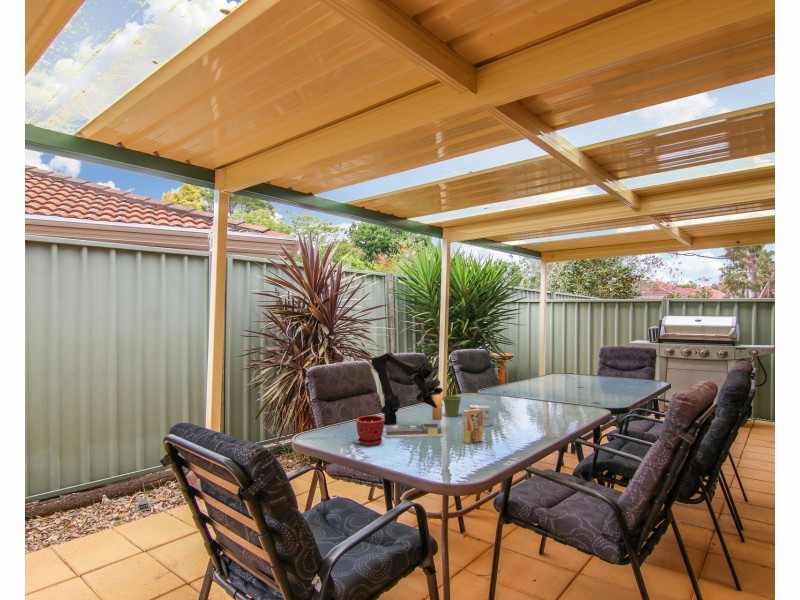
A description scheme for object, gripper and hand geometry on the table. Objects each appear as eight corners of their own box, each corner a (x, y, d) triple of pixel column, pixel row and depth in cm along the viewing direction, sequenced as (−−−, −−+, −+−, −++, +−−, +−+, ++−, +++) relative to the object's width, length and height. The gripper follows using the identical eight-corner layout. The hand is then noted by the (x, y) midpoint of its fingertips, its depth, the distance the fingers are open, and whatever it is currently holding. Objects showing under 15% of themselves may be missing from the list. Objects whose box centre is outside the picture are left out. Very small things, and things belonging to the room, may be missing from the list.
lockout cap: (433, 420, 236) (433, 394, 237) (431, 418, 241) (431, 393, 242) (442, 420, 237) (442, 394, 238) (440, 418, 242) (440, 393, 243)
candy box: (477, 439, 225) (477, 408, 225) (483, 441, 221) (482, 409, 221) (462, 441, 221) (462, 409, 221) (467, 443, 217) (467, 411, 218)
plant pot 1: (352, 441, 221) (352, 417, 221) (376, 438, 227) (376, 414, 228) (363, 448, 209) (363, 422, 210) (388, 444, 216) (388, 419, 217)
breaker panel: (387, 438, 226) (387, 429, 226) (385, 432, 238) (385, 424, 238) (442, 437, 229) (442, 428, 229) (437, 431, 241) (437, 422, 241)
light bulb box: (488, 424, 258) (488, 404, 258) (490, 426, 251) (489, 407, 252) (469, 423, 259) (469, 404, 259) (470, 426, 252) (470, 406, 253)
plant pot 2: (441, 417, 275) (441, 398, 275) (443, 413, 287) (443, 395, 287) (461, 418, 273) (461, 399, 273) (462, 414, 285) (461, 395, 285)
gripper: (420, 376, 235) (438, 399, 228) (440, 372, 250) (457, 394, 243) (408, 389, 240) (425, 413, 233) (428, 385, 254) (445, 407, 247)
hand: (439, 406), depth 239 cm, fingers closed on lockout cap, 5 cm apart
